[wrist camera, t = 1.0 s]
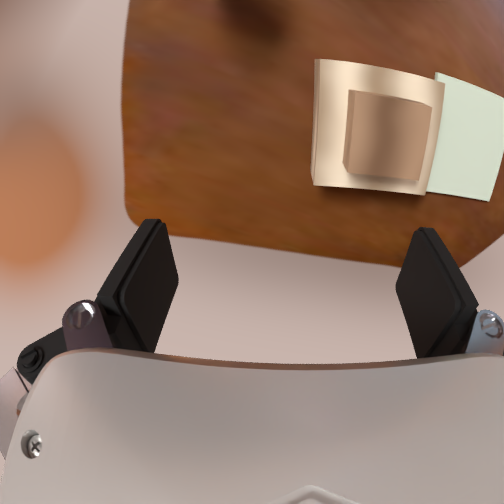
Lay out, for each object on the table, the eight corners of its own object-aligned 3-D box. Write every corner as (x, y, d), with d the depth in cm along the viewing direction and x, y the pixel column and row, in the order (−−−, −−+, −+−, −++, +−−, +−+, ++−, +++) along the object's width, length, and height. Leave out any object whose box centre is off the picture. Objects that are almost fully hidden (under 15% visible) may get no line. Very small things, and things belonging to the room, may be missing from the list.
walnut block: (420, 102, 20) (432, 107, 18) (409, 170, 24) (418, 180, 22) (348, 89, 21) (355, 92, 19) (342, 162, 25) (347, 172, 23)
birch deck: (426, 78, 21) (445, 83, 18) (411, 179, 29) (424, 195, 26) (314, 58, 22) (320, 58, 19) (310, 169, 30) (313, 185, 27)
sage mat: (509, 101, 20) (512, 102, 19) (486, 199, 28) (489, 201, 28) (435, 72, 21) (438, 72, 20) (416, 187, 29) (418, 190, 29)
